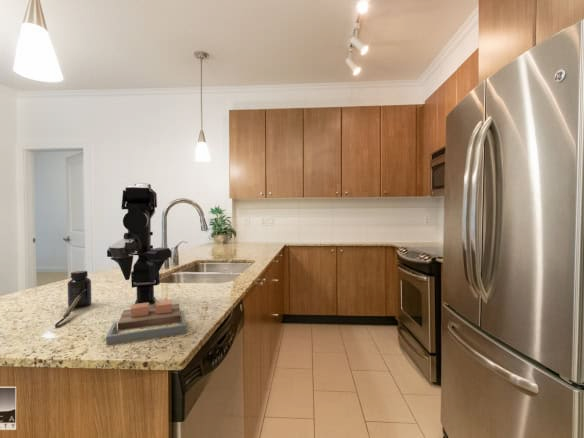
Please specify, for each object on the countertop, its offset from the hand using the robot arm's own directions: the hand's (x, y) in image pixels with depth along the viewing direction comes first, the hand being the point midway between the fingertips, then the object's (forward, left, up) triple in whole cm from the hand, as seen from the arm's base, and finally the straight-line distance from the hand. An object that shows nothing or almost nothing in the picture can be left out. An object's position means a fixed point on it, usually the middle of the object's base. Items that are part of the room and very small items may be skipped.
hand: (139, 281), depth 87 cm
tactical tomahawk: (-13, -21, -14) cm, 28 cm away
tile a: (0, 0, -10) cm, 10 cm away
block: (0, +6, -10) cm, 12 cm away
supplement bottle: (-27, -21, -13) cm, 37 cm away
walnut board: (0, +3, -12) cm, 13 cm away
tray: (+11, +3, -12) cm, 17 cm away
